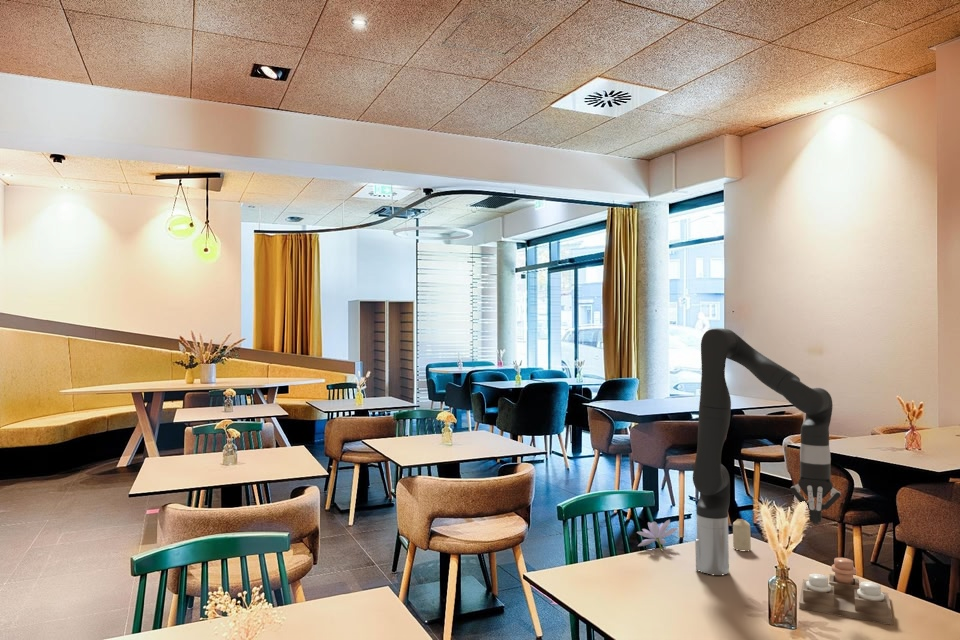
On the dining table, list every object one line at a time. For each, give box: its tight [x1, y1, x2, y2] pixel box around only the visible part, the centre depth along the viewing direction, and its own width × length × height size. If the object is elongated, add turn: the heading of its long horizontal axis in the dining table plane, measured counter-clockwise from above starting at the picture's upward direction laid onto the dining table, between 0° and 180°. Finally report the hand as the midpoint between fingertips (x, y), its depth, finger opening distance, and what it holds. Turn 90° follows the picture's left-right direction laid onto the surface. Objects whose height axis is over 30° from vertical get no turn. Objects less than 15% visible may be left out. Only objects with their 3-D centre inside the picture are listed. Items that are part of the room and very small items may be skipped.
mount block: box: [798, 573, 894, 626], centre depth 174 cm, size 21×19×4 cm
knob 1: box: [806, 573, 831, 593], centre depth 173 cm, size 6×6×6 cm
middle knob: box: [831, 557, 857, 584], centre depth 179 cm, size 6×6×6 cm
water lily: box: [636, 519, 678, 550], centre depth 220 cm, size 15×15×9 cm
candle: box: [732, 518, 752, 552], centre depth 219 cm, size 6×6×10 cm
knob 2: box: [857, 581, 884, 602], centre depth 167 cm, size 6×6×6 cm
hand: (815, 523), depth 178 cm, fingers closed
